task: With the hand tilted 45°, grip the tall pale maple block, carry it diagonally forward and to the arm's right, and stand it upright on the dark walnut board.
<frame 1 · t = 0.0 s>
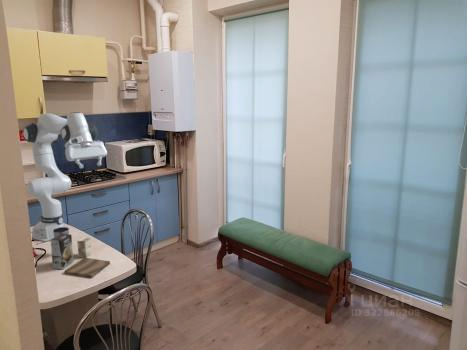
hand: (91, 166, 183), 54 cm above the table, tool tilted 30°, fingers open, 8 cm apart
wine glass: (63, 254, 207), on the table
walnut board: (88, 268, 191), on the table
coffee box: (63, 265, 194), on the table
maple block: (85, 255, 206), on the table
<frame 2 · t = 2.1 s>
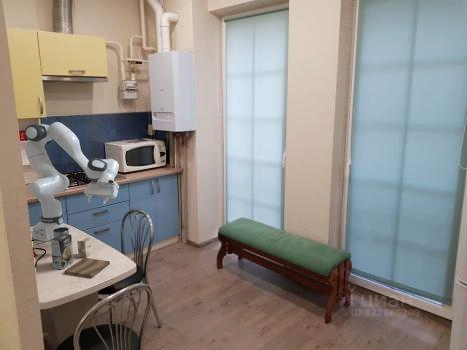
hand: (96, 203, 212), 27 cm above the table, tool tilted 45°, fingers open, 8 cm apart
nothing on the table moved.
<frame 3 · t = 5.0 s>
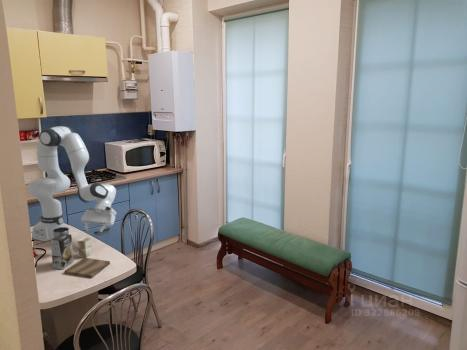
hand: (93, 230, 211), 12 cm above the table, tool tilted 45°, fingers open, 8 cm apart
nothing on the table moved.
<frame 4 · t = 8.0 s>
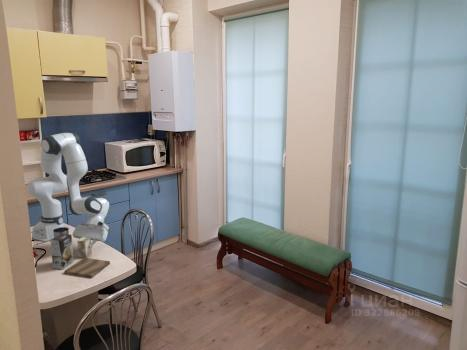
hand: (84, 246, 205), 5 cm above the table, tool tilted 45°, fingers closed on maple block, 5 cm apart
maple block: (85, 255, 206), on the table, touching gripper
everything else where it was.
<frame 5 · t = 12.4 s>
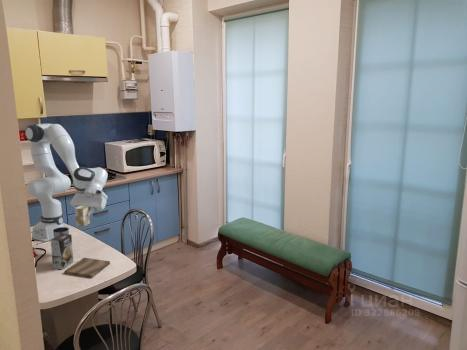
hand: (82, 215, 200), 24 cm above the table, tool tilted 45°, fingers closed on maple block, 5 cm apart
maple block: (83, 224, 201), point 19 cm above the table, touching gripper
everything else where it was.
when the fingers open (8 cm above the table, at t = 17.2 s): maple block drops 1 cm, resting on walnut board.
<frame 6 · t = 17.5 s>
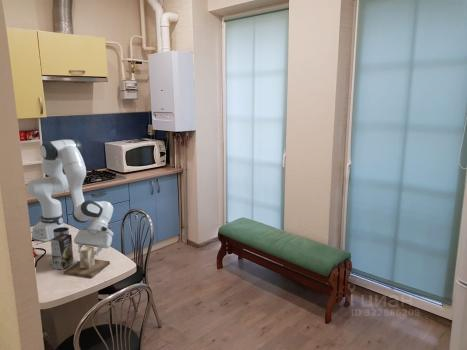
hand: (87, 253, 189), 8 cm above the table, tool tilted 45°, fingers open, 8 cm apart
maple block: (87, 265, 190), point 1 cm above the table, touching walnut board
everything else where it was.
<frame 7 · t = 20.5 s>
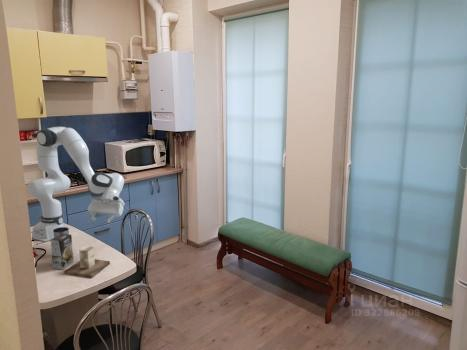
hand: (100, 221, 199), 22 cm above the table, tool tilted 45°, fingers open, 8 cm apart
nothing on the table moved.
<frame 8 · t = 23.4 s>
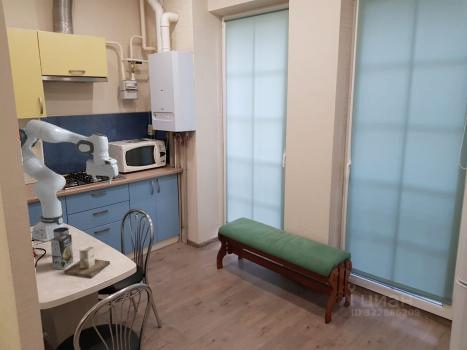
hand: (102, 182, 220), 37 cm above the table, tool pointing down, fingers open, 8 cm apart
nothing on the table moved.
at the end: maple block inside the target area on the walnut board (0.1 cm from its centre), point 1.5 cm above the walnut board's base; maple block tilted 0°; the gripper is holding nothing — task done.
